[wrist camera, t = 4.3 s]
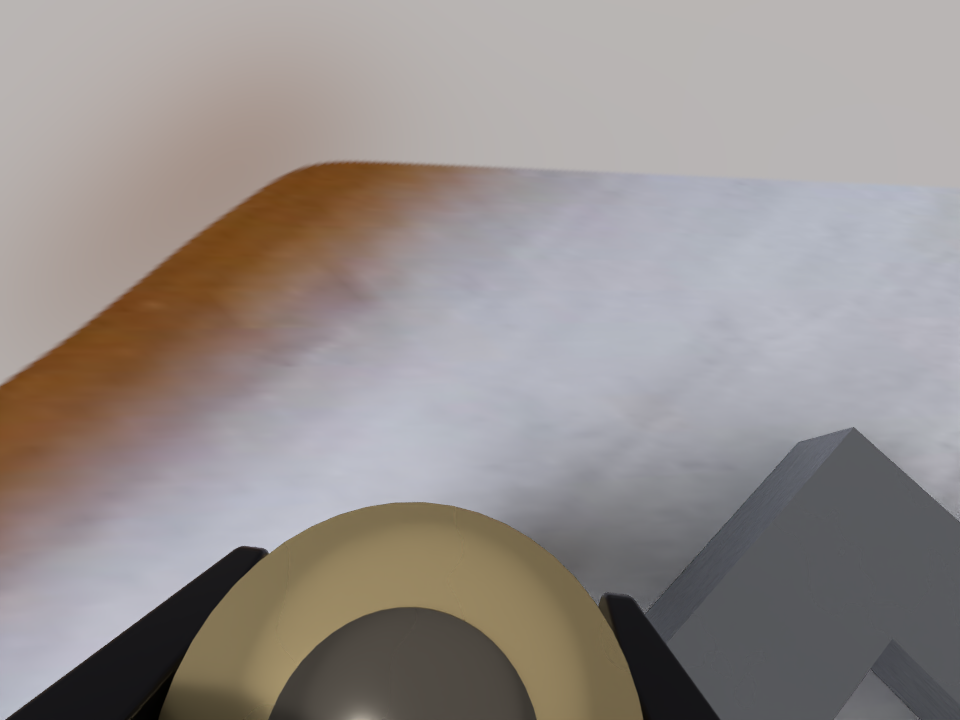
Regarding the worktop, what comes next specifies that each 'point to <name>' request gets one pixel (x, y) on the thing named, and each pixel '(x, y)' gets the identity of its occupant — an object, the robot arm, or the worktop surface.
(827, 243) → the worktop surface
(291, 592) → the brass bushing
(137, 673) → the robot arm
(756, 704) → the plate
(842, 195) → the worktop surface
